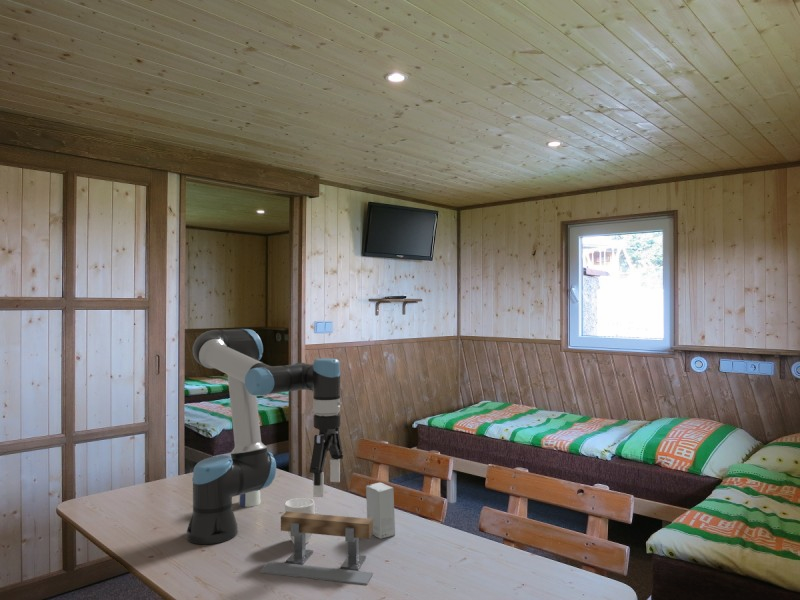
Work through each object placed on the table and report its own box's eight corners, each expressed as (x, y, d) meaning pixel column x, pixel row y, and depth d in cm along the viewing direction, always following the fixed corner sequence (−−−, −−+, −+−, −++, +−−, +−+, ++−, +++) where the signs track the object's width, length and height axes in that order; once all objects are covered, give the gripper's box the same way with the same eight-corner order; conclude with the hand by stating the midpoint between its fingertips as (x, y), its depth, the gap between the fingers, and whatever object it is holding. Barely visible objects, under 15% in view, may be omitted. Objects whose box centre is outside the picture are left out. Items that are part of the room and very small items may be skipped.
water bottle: (267, 501, 208) (267, 433, 209) (249, 508, 201) (249, 438, 201) (251, 497, 213) (251, 430, 213) (233, 504, 205) (233, 435, 206)
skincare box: (395, 535, 178) (395, 488, 178) (379, 540, 174) (379, 491, 175) (381, 526, 185) (381, 481, 185) (365, 530, 182) (365, 484, 182)
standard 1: (285, 562, 159) (286, 523, 159) (297, 550, 167) (297, 513, 167) (302, 564, 158) (302, 524, 158) (313, 552, 165) (313, 514, 166)
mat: (259, 572, 153) (259, 571, 153) (269, 562, 159) (269, 561, 159) (366, 584, 146) (366, 583, 146) (373, 574, 152) (373, 572, 152)
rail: (280, 530, 161) (280, 516, 161) (286, 525, 165) (286, 511, 165) (368, 538, 156) (368, 524, 156) (372, 533, 160) (372, 519, 160)
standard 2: (340, 568, 155) (340, 528, 155) (349, 556, 163) (349, 517, 163) (358, 570, 154) (358, 530, 154) (366, 557, 162) (366, 519, 162)
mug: (303, 549, 167) (302, 508, 168) (279, 544, 172) (279, 504, 172) (326, 535, 178) (325, 496, 178) (304, 530, 182) (303, 493, 182)
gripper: (324, 422, 148) (324, 504, 147) (352, 406, 172) (353, 476, 172) (297, 421, 149) (297, 502, 149) (329, 405, 174) (329, 475, 173)
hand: (327, 489), depth 160 cm, fingers open, 13 cm apart
